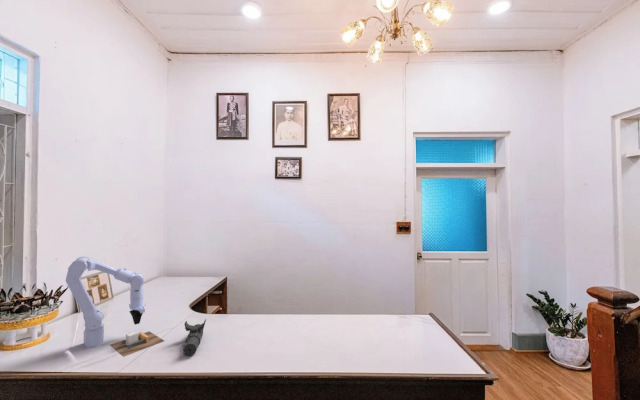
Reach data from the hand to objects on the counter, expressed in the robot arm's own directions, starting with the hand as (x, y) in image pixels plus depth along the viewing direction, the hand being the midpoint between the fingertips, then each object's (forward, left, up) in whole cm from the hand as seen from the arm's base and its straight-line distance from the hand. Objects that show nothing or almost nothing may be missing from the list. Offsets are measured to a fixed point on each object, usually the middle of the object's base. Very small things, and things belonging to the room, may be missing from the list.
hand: (136, 323), depth 149 cm
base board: (+9, -3, -7) cm, 12 cm away
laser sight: (+32, +14, -7) cm, 35 cm away
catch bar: (+8, 0, -6) cm, 10 cm away
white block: (+8, -5, -6) cm, 12 cm away
